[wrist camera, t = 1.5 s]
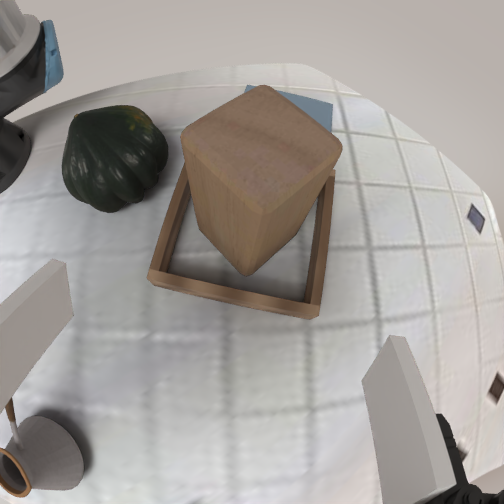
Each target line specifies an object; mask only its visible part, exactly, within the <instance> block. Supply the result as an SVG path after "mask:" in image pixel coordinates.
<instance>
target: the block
mask: <svg viewBox="0 0 504 504" xmlns="http://www.w3.org/2000/svg"><path fill="white" fill-rule="evenodd" d="M180 138H181V144H182V149H183V154H184V160H185V165H186V170H187V175H188V180H189V185H190V190H191V195H192V200H193V205H194V209H195V214H196V219H197V224H198V227H199V230H200V231H201V232H202V233H203V234H204V235H205V236H206V237H207V238H208V239H209V240H210V242H211V243H212V244H213V245H214V246H215V247H216V248H217V249H218V250H219V251H220V252H221V253H222V254H223V255H224V257H225V258H226V259H227V260H228V261H229V262H230V263H231V264H232V265H233V266H234V267H235V268H236V269H237V270H238V271H239V273H240V274H242V275H244V276H249V275H252V274H253V273H254V272H255V271H256V270H257V269H259V268H260V267H261V266H262V265H263V264H264V263H265V262H266V261H267V260H269V259H270V258H271V257H272V256H273V255H274V254H275V253H276V252H277V251H279V250H280V249H281V248H282V247H283V246H284V245H285V244H286V243H287V242H288V241H290V240H291V239H292V238H293V237H294V236H295V235H296V234H297V232H298V230H299V228H300V227H301V225H302V223H303V221H304V220H305V218H306V216H307V214H308V213H309V211H310V209H311V207H312V205H313V204H314V202H315V200H316V198H317V197H318V195H319V193H320V191H321V189H322V188H323V186H324V184H325V182H326V181H327V179H328V177H329V175H330V173H331V171H332V170H333V168H334V166H335V164H336V162H337V161H338V159H339V157H340V155H341V152H342V144H341V142H340V141H339V139H338V138H336V137H335V136H334V135H333V134H332V133H330V132H329V131H328V130H327V129H326V128H324V127H323V126H322V125H321V124H319V123H318V122H317V121H316V120H314V119H313V118H312V117H311V116H309V115H308V114H307V113H305V112H304V111H303V110H302V109H300V108H299V107H298V106H296V105H295V104H294V103H292V102H291V101H290V100H288V99H287V98H286V97H284V96H283V95H281V94H280V93H279V92H277V91H276V90H274V89H273V88H272V87H270V86H267V85H259V86H257V87H255V88H253V89H251V90H249V91H247V92H246V93H244V94H242V95H240V96H238V97H236V98H234V99H233V100H231V101H229V102H227V103H226V104H224V105H222V106H220V107H219V108H217V109H215V110H213V111H212V112H210V113H208V114H207V115H205V116H203V117H202V118H200V119H198V120H197V121H195V122H194V123H192V124H190V125H189V126H187V127H186V128H185V129H184V131H183V132H182V133H181V137H180Z"/></svg>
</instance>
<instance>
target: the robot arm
mask: <svg viewBox="0 0 504 504" xmlns="http://www.w3.org/2000/svg"><path fill="white" fill-rule="evenodd" d="M62 78H63V66H62V61H61V56H60V52H59V47H58V42H57V38H56V33H55V29H54V25H53V22H52V20H47V21H43V22H41V24H40V22H39V20H38V19H37V18H36V17H35V16H33V15H29V14H24V15H22V13H21V11H20V9H19V7H18V6H17V4H16V2H15V0H0V193H1V192H3V191H4V190H5V189H6V188H8V187H9V186H10V185H11V184H12V183H13V182H14V180H15V179H16V178H17V177H18V175H19V174H20V172H21V171H22V169H23V167H24V166H25V164H26V162H27V159H28V157H29V153H30V148H31V142H30V138H29V136H28V135H27V134H26V132H25V131H24V130H23V129H22V128H21V127H19V126H17V125H15V124H14V123H12V122H10V121H8V120H6V119H4V118H3V117H5V116H6V115H8V114H9V113H11V112H13V111H14V110H16V109H17V108H19V107H21V106H22V105H24V104H25V103H27V102H29V101H31V100H32V99H34V98H36V97H38V96H39V95H41V94H43V93H45V92H46V91H47V90H49V89H50V88H52V87H53V86H55V85H57V84H58V83H59V82H60V81H61V80H62ZM73 316H74V313H73V308H72V302H71V296H70V290H69V283H68V276H67V268H66V263H64V262H61V261H58V260H55V259H52V260H50V261H49V262H48V263H47V264H45V265H44V266H43V267H42V268H41V269H39V270H38V271H37V272H36V273H35V274H34V275H32V276H31V277H30V278H29V279H28V280H27V281H26V282H24V283H23V284H22V285H21V286H20V287H19V288H18V289H17V290H15V291H14V292H13V293H12V294H11V295H10V296H9V297H8V298H7V299H6V300H5V301H3V302H2V303H1V304H0V414H1V412H2V411H3V409H4V408H5V406H6V405H7V403H8V402H9V400H10V399H11V397H12V396H13V395H14V393H15V392H16V390H17V389H18V387H19V386H20V385H21V383H22V382H23V380H24V379H25V378H26V376H27V375H28V373H29V372H30V371H31V369H32V368H33V367H34V365H35V364H36V363H37V361H38V360H39V359H40V357H41V356H42V355H43V353H44V352H45V351H46V350H47V348H48V347H49V346H50V344H51V343H52V342H53V341H54V339H55V338H56V337H57V336H58V334H59V333H60V332H61V331H62V329H63V328H64V327H65V326H66V324H67V323H68V322H69V321H70V320H71V318H72V317H73ZM362 385H363V389H364V394H365V399H366V404H367V409H368V414H369V419H370V424H371V429H372V435H373V440H374V446H375V452H376V458H377V464H378V471H379V477H380V484H381V492H382V499H383V504H504V490H502V491H501V492H499V493H498V494H488V493H482V491H481V490H480V489H479V488H478V487H477V486H476V485H473V484H469V483H468V481H467V478H466V475H465V471H464V468H463V464H462V461H461V458H460V455H459V451H458V448H456V442H455V439H454V438H453V433H452V430H451V427H450V425H449V423H448V422H447V420H446V419H445V418H444V416H443V415H442V414H435V411H434V409H433V406H432V403H431V400H430V398H429V395H428V392H427V390H426V387H425V384H424V382H423V379H422V377H421V374H420V372H419V369H418V367H417V364H416V362H415V359H414V357H413V355H412V352H411V350H410V348H409V345H408V343H407V341H406V338H405V337H400V336H393V335H389V337H388V338H387V340H386V342H385V344H384V345H383V347H382V349H381V350H380V352H379V354H378V355H377V357H376V359H375V360H374V362H373V364H372V365H371V367H370V368H369V370H368V372H367V373H366V375H365V376H364V378H363V379H362Z"/></svg>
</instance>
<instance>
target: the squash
mask: <svg viewBox="0 0 504 504" xmlns="http://www.w3.org/2000/svg"><path fill="white" fill-rule="evenodd" d="M167 159H168V144H167V142H166V139H165V137H164V136H163V134H162V133H161V132H160V131H159V129H158V128H157V127H156V126H155V125H154V124H153V122H152V120H151V119H150V118H149V116H148V115H147V114H145V113H144V112H143V111H142V110H140V109H139V108H137V107H134V106H128V105H116V106H110V107H104V108H99V109H94V110H89V111H85V112H82V113H80V114H76V115H75V116H74V119H73V120H72V122H71V125H70V127H69V132H68V137H67V141H66V144H65V149H64V154H63V160H62V175H63V180H64V183H65V185H66V187H67V189H68V191H69V192H70V194H71V195H72V196H73V197H75V198H76V199H77V200H79V201H81V202H84V203H87V204H90V205H91V206H93V207H94V208H95V209H97V210H99V211H103V212H107V213H113V212H117V211H119V210H120V209H121V208H123V207H124V206H125V205H126V204H127V202H130V203H138V202H141V201H142V200H143V197H144V189H147V188H151V187H153V186H154V185H155V184H156V183H157V181H158V173H159V172H160V171H161V170H162V169H163V168H164V167H165V165H166V162H167Z"/></svg>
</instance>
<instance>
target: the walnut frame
mask: <svg viewBox="0 0 504 504" xmlns="http://www.w3.org/2000/svg"><path fill="white" fill-rule="evenodd" d="M334 182H335V170H334V169H333V170H332V171H331V173H330V175H329V177H328V179H327V181H326V182H325V184H324V186H323V188H322V189H321V191H320V193H319V195H318V203H317V211H316V219H315V227H314V235H313V242H312V249H311V256H310V263H309V270H308V277H307V283H306V289H305V296H304V302H303V303H302V302H297V301H292V300H287V299H282V298H277V297H272V296H267V295H262V294H258V293H253V292H248V291H243V290H239V289H234V288H230V287H225V286H221V285H216V284H212V283H207V282H203V281H199V280H194V279H190V278H186V277H181V276H177V275H173V274H169V273H167V271H168V267H169V263H170V260H171V256H172V253H173V249H174V246H175V243H176V239H177V236H178V233H179V229H180V226H181V223H182V219H183V216H184V213H185V210H186V207H187V204H188V201H189V197H190V194H191V190H190V185H189V180H188V175H187V170H186V165H185V163H184V166H183V168H182V171H181V174H180V177H179V179H178V182H177V185H176V188H175V190H174V193H173V196H172V199H171V202H170V205H169V208H168V211H167V214H166V217H165V220H164V223H163V226H162V229H161V232H160V235H159V238H158V242H157V245H156V248H155V251H154V255H153V258H152V261H151V265H150V268H149V272H148V275H147V279H148V280H149V281H150V282H151V283H152V284H153V285H154V286H158V287H162V288H166V289H170V290H174V291H178V292H182V293H186V294H190V295H195V296H199V297H203V298H208V299H212V300H216V301H221V302H225V303H230V304H234V305H239V306H244V307H248V308H253V309H258V310H263V311H268V312H273V313H278V314H283V315H288V316H293V317H299V318H304V319H312V318H315V317H317V316H319V310H320V304H321V297H322V290H323V283H324V276H325V268H326V260H327V252H328V244H329V235H330V226H331V216H332V205H333V194H334Z"/></svg>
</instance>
